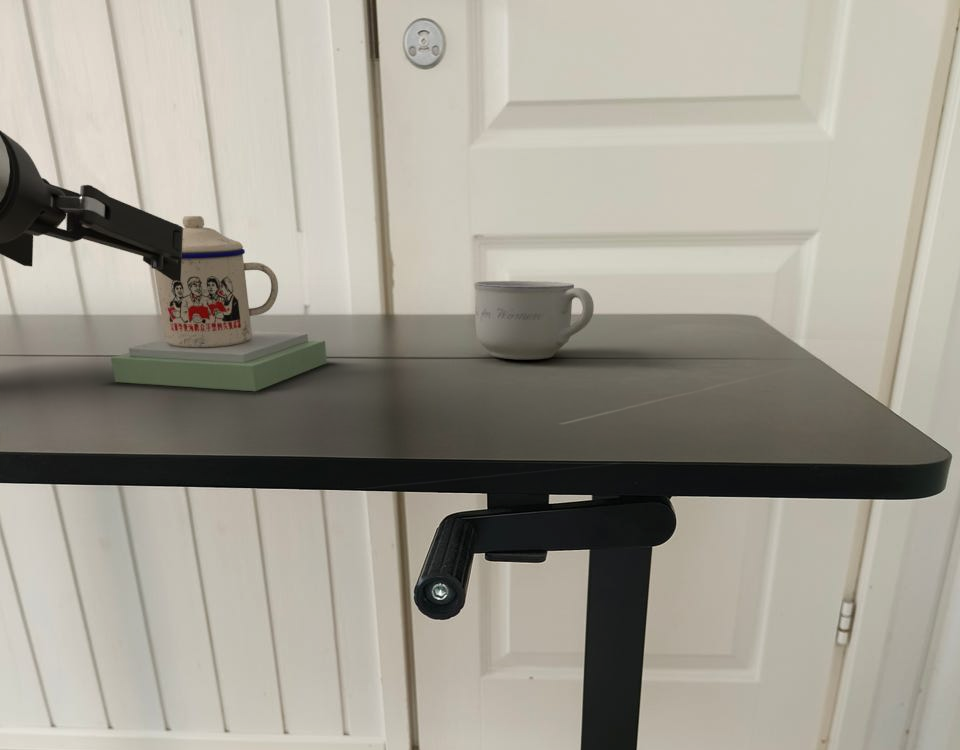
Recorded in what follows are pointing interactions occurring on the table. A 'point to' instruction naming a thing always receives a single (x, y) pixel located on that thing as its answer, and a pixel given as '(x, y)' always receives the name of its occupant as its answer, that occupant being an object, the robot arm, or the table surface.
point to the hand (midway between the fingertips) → (103, 257)
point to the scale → (222, 362)
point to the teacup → (527, 317)
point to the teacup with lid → (209, 291)
